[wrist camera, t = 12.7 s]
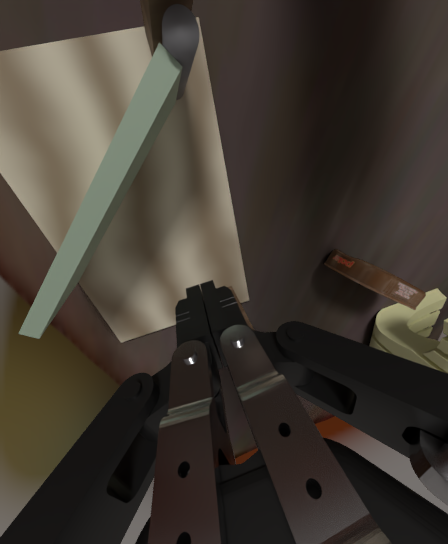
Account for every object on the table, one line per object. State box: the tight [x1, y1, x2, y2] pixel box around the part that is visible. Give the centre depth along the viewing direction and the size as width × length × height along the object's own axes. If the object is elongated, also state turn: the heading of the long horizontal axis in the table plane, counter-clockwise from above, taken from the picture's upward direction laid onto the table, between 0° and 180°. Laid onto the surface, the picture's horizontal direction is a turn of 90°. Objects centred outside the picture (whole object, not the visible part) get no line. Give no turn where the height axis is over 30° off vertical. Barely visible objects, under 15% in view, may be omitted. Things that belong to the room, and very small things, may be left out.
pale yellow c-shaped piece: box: [369, 288, 448, 373], centre depth 36 cm, size 30×16×18 cm, turn 13°
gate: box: [19, 4, 200, 339], centre depth 15 cm, size 2×21×8 cm, turn 143°
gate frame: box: [0, 0, 254, 343], centre depth 17 cm, size 18×27×11 cm, turn 12°
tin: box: [323, 249, 426, 310], centre depth 28 cm, size 15×3×8 cm, turn 63°
